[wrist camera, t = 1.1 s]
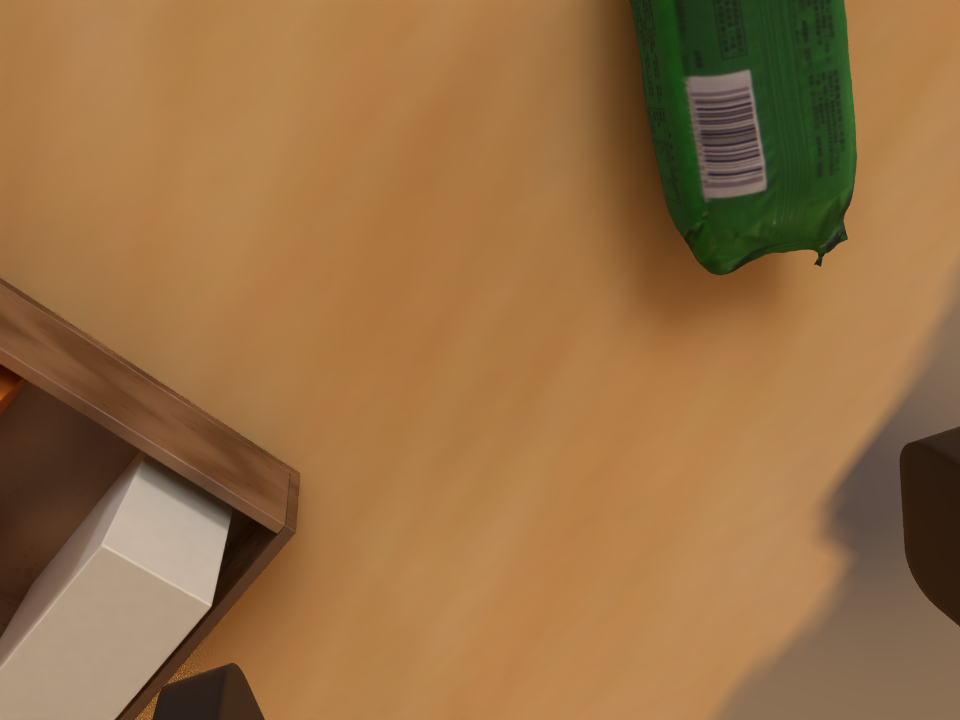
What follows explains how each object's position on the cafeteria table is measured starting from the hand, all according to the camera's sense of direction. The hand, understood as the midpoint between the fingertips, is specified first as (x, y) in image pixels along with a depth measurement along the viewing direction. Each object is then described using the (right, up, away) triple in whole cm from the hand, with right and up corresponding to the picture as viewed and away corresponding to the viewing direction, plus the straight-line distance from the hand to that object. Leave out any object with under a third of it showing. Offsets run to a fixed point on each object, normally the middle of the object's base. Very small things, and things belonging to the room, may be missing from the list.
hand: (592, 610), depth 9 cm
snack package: (+8, +14, +24) cm, 29 cm away
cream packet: (-16, -4, +25) cm, 30 cm away
